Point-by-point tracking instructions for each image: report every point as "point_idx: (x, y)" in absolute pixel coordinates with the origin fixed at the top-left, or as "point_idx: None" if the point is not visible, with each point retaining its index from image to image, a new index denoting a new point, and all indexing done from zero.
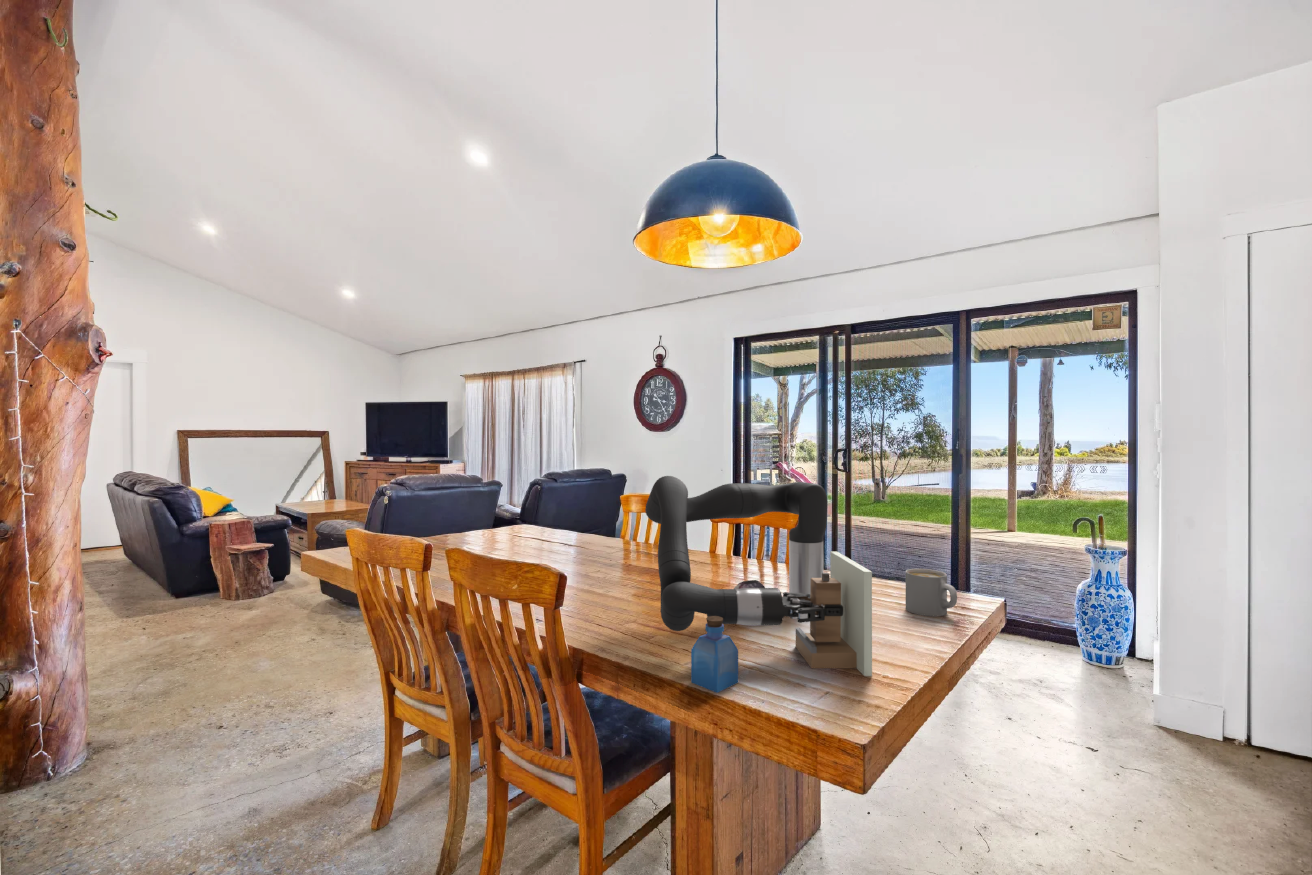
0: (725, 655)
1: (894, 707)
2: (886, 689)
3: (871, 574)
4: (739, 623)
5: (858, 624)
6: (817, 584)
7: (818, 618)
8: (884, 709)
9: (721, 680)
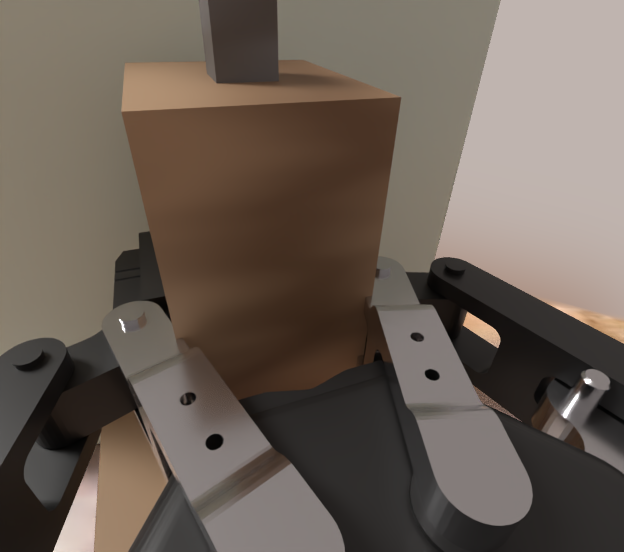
0: None
1: (566, 308)
2: (470, 315)
3: None
4: None
5: (388, 230)
6: (391, 115)
7: (481, 340)
8: (599, 324)
9: None
